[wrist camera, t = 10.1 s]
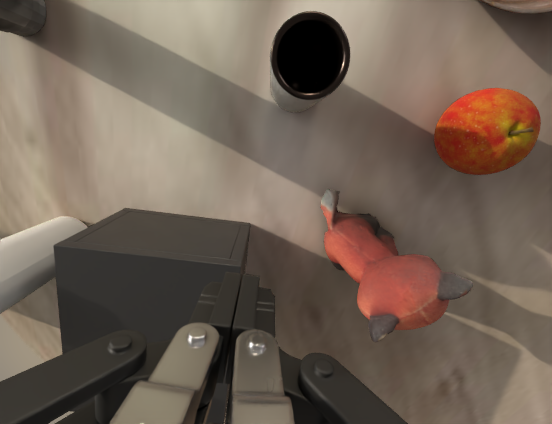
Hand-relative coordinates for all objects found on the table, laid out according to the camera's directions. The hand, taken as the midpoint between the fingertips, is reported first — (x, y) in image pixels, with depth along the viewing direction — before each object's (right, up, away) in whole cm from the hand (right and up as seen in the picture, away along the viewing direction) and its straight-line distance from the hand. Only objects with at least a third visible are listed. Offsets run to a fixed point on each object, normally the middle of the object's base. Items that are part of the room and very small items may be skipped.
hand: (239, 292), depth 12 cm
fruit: (+19, +11, +15) cm, 26 cm away
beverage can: (-20, +1, +17) cm, 26 cm away
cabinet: (-8, -4, +18) cm, 21 cm away
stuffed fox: (+10, +2, +17) cm, 20 cm away
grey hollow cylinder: (+3, +15, +13) cm, 20 cm away
